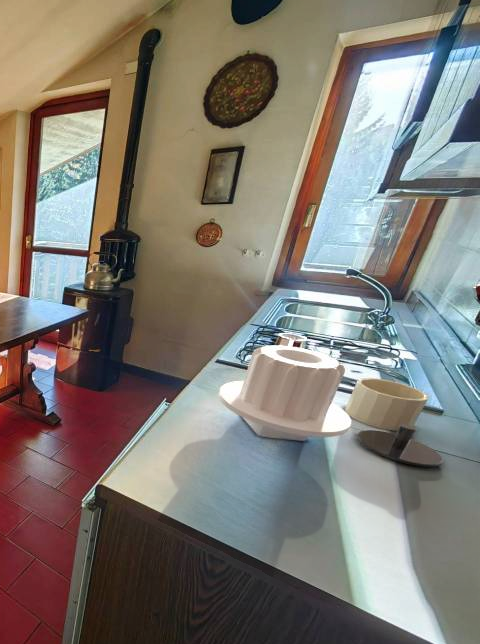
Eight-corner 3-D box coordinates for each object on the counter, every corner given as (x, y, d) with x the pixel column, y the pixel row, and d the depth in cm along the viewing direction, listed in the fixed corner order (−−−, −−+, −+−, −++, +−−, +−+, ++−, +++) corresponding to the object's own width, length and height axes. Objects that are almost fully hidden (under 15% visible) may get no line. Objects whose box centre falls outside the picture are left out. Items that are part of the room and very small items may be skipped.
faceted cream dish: (401, 414, 102) (416, 384, 98) (421, 436, 92) (438, 405, 88) (339, 402, 107) (352, 374, 104) (352, 422, 98) (366, 392, 94)
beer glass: (289, 390, 114) (307, 342, 108) (260, 383, 118) (276, 336, 112) (291, 383, 119) (309, 336, 113) (264, 376, 123) (279, 331, 117)
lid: (424, 444, 89) (438, 421, 86) (452, 477, 78) (468, 451, 76) (348, 428, 95) (359, 406, 93) (365, 456, 85) (377, 432, 82)
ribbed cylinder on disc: (368, 465, 82) (409, 384, 74) (236, 450, 86) (263, 373, 79) (300, 408, 104) (326, 341, 96) (199, 399, 109) (216, 334, 101)
